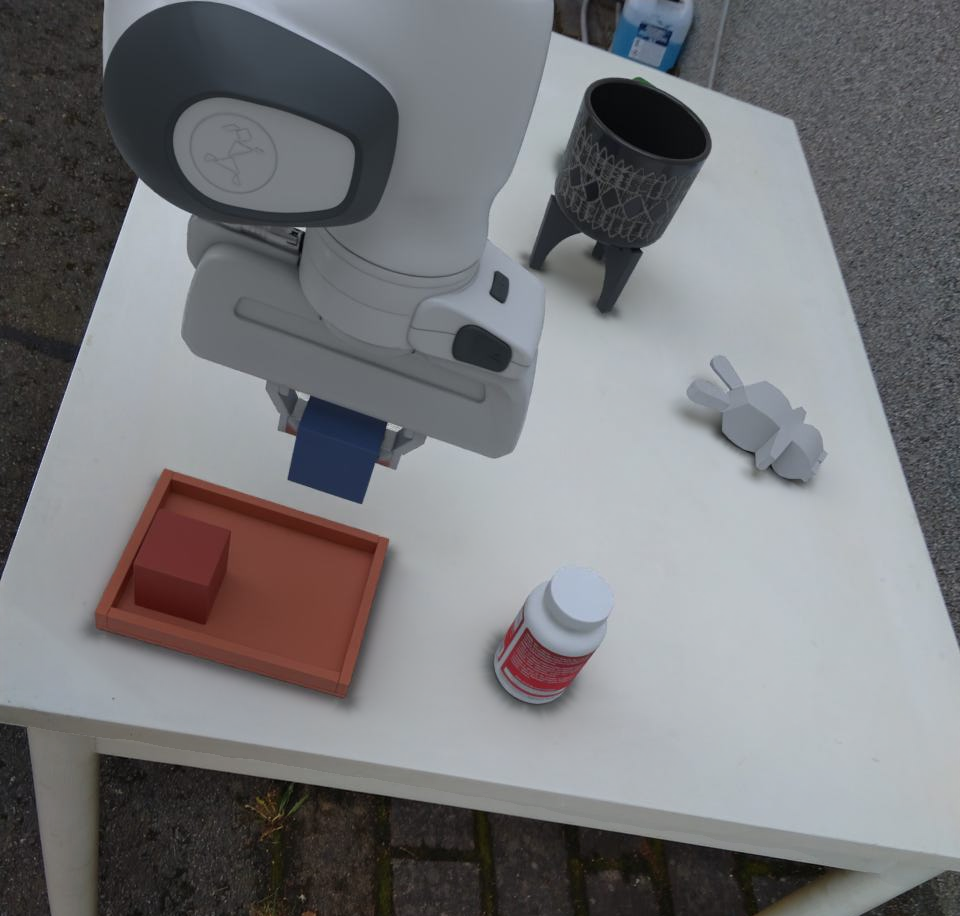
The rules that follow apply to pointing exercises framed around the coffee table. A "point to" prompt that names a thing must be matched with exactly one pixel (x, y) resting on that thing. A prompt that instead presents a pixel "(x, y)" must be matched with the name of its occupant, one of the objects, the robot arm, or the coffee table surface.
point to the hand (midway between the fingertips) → (340, 444)
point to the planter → (623, 176)
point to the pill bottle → (554, 635)
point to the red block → (181, 566)
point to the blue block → (336, 450)
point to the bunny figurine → (762, 423)
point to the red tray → (261, 588)
